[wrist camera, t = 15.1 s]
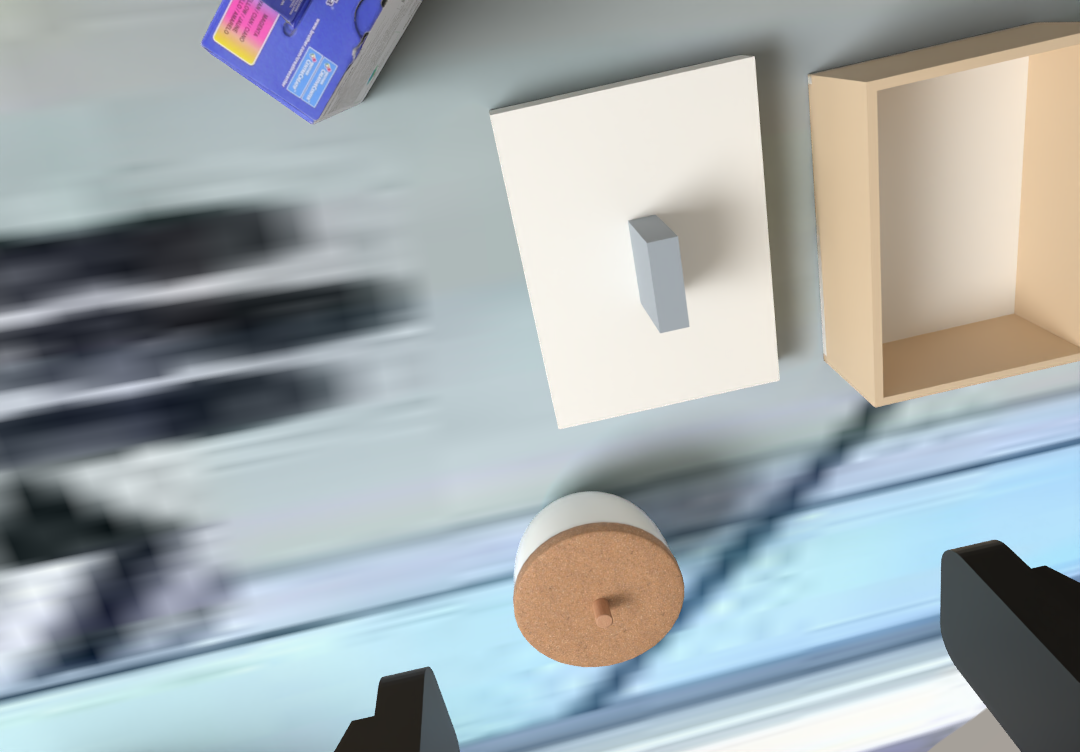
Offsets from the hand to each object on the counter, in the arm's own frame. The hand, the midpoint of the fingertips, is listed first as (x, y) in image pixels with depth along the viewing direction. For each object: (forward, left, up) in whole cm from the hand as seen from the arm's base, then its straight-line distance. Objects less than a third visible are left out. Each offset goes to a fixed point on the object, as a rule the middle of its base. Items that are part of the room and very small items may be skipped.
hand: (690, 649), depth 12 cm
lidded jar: (+24, -1, -36) cm, 44 cm away
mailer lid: (+5, +6, -36) cm, 37 cm away
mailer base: (+6, +23, -36) cm, 43 cm away
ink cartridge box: (-12, -6, -36) cm, 39 cm away
